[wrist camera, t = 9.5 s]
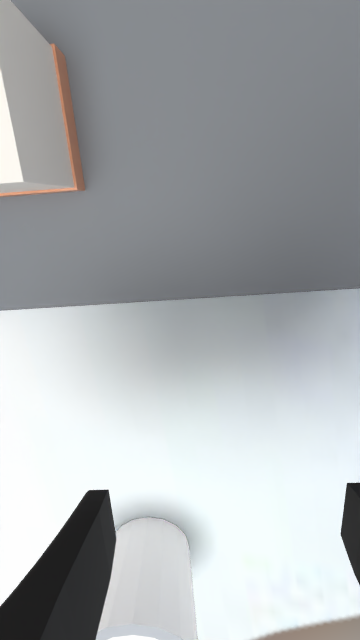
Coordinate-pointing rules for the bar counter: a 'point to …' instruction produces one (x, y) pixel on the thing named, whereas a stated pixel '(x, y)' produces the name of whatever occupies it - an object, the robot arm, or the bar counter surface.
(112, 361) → the bar counter surface
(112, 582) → the white cylinder
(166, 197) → the pin board
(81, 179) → the sleeve
